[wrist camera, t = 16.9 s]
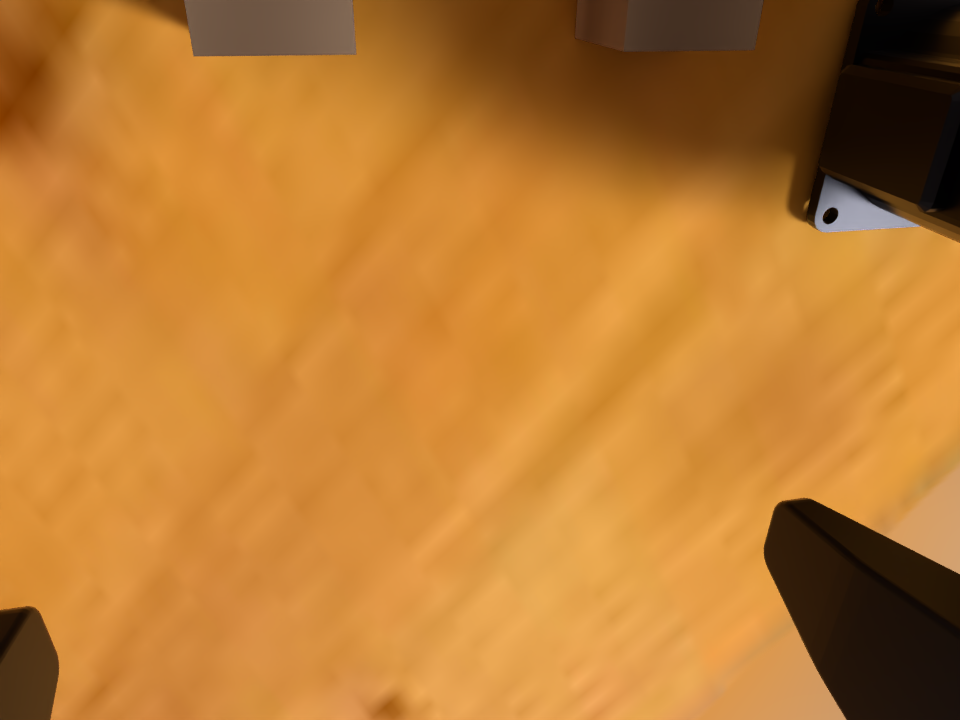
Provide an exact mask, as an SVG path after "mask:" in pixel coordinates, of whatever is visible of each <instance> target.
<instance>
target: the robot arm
mask: <svg viewBox="0 0 960 720" xmlns="http://www.w3.org/2000/svg"><path fill="white" fill-rule="evenodd" d="M877 2H878V0H859V1H858V4H857V7H856V11H855V15H854V19H853V23H852V28H851V32H850V36H849V40H848V44H847V48H846V53H845V57H844V61H843V65H842V69H841V73H840V76H839V79H838V83H837V87H836V92H835V96H834V100H833V104H832V108H831V112H830V117H829V121H828V125H827V129H826V133H825V138H824V142H823V146H822V150H821V154H820V158H819V165H818V169H817V173H816V178H815V182H814V186H813V190H812V194H811V198H810V203H809V207H808V211H807V221H808V223H809V225H811V226H812V227H813V228H815V229H817V230H819V231H821V232H839V231H855V230H871V229H887V228H903V227H918V226H922V227H924V228H927V229H929V230H931V231H934V232H936V233H938V234H941V235H943V236H945V237H948V238H950V239H952V240H955V241H957V242H959V243H960V0H883V6H882V8H881V10H880V11H879V12H878V13H877V14H876V12H875V7H876V4H877ZM829 208H830V212H829V214H828V216H827V217H826V218H825V219H823V215H824V212H825V211H826V210H827V209H829ZM764 558H765V562H766V565H767V567H768V570H769V572H770V574H771V576H772V578H773V580H774V582H775V584H776V586H777V588H778V590H779V593H780V595H781V597H782V599H783V601H784V603H785V605H786V607H787V609H788V611H789V613H790V616H791V618H792V620H793V622H794V624H795V626H796V628H797V630H798V632H799V634H800V636H801V639H802V641H803V643H804V645H805V647H806V649H807V651H808V653H809V655H810V657H811V659H812V661H813V663H814V665H815V667H816V669H817V671H818V672H819V674H820V676H821V678H822V679H823V681H824V683H825V685H826V686H827V688H828V690H829V691H830V693H831V695H832V696H833V698H834V700H835V701H836V703H837V705H838V706H839V708H840V710H841V711H842V713H843V714H844V716H845V718H846V720H960V574H958V573H956V572H954V571H952V570H950V569H948V568H946V567H944V566H942V565H940V564H938V563H936V562H934V561H933V560H931V559H928V558H926V557H925V556H923V555H921V554H919V553H917V552H915V551H913V550H911V549H909V548H907V547H905V546H903V545H901V544H899V543H897V542H895V541H893V540H891V539H889V538H887V537H885V536H883V535H881V534H879V533H877V532H875V531H873V530H871V529H870V528H868V527H866V526H864V525H862V524H860V523H858V522H856V521H854V520H852V519H850V518H848V517H846V516H844V515H842V514H840V513H838V512H836V511H834V510H832V509H830V508H828V507H826V506H824V505H822V504H820V503H818V502H816V501H814V500H812V499H809V498H800V499H793V500H786V501H781V502H779V503H778V504H777V505H776V507H775V508H774V511H773V515H772V518H771V522H770V526H769V529H768V533H767V537H766V540H765V544H764ZM58 675H59V660H58V655H57V652H56V650H55V647H54V645H53V643H52V640H51V638H50V635H49V633H48V631H47V628H46V626H45V623H44V621H43V619H42V616H41V614H40V613H39V611H38V610H37V609H36V608H34V607H30V606H26V607H18V608H11V609H4V610H0V720H50V718H51V713H52V708H53V703H54V697H55V692H56V687H57V681H58Z"/></svg>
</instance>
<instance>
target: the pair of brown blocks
mask: <svg viewBox="0 0 960 720" xmlns="http://www.w3.org/2000/svg"><path fill="white" fill-rule="evenodd" d="M763 1H764V0H578V1H577V16H576V30H575V38H576V39H580V40H583V41H587V42H591V43H594V44H598V45H601V46H605V47H609V48H612V49H616V50H619V51H623V52H637V51H729V50H755V45H756V40H757V34H758V29H759V23H760V18H761V12H762V7H763ZM184 3H185V8H186V14H187V20H188V26H189V32H190V37H191V43H192V49H193V55H194V56H271V55H356V42H355V28H354V13H353V0H184Z"/></svg>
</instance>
